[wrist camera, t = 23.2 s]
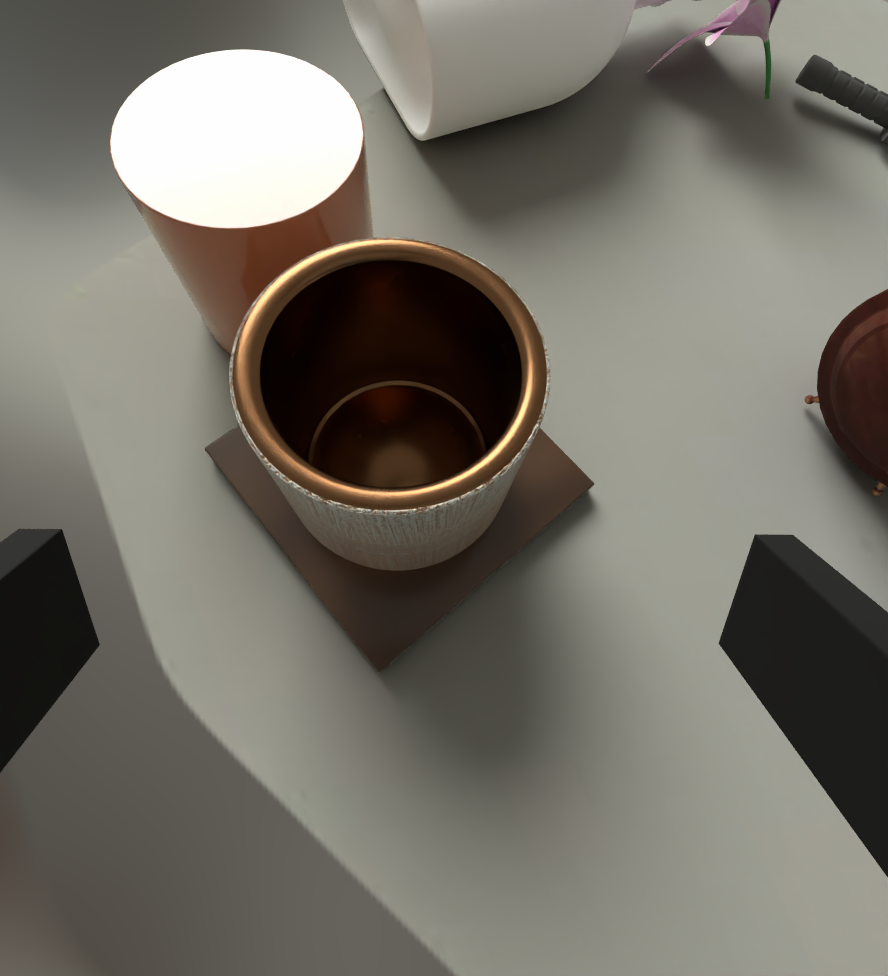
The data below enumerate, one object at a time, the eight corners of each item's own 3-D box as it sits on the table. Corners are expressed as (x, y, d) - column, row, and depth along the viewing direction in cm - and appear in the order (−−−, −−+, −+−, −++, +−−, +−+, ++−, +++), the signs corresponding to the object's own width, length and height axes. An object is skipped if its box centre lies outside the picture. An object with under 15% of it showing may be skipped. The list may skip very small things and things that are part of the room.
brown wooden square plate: (589, 490, 28) (595, 483, 27) (379, 673, 24) (378, 673, 23) (419, 315, 31) (419, 304, 30) (210, 455, 27) (203, 448, 26)
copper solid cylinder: (413, 309, 31) (413, 150, 22) (270, 405, 28) (199, 272, 19) (311, 204, 33) (271, 19, 24) (169, 285, 31) (61, 112, 21)
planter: (389, 623, 24) (375, 594, 15) (244, 458, 26) (156, 346, 17) (550, 474, 27) (620, 374, 18) (407, 337, 29) (405, 186, 20)
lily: (763, 37, 42) (773, -131, 35) (894, 63, 35) (941, -143, 28) (631, 124, 44) (614, -20, 36) (731, 168, 36) (735, -3, 29)
